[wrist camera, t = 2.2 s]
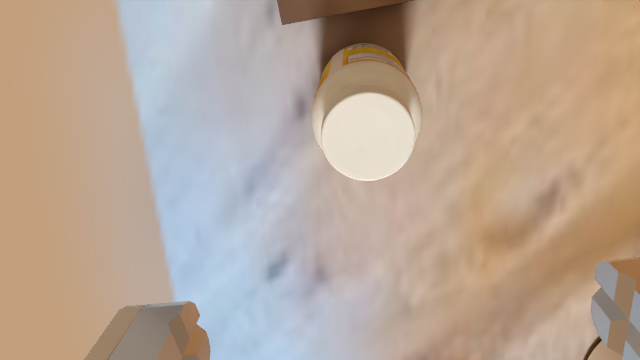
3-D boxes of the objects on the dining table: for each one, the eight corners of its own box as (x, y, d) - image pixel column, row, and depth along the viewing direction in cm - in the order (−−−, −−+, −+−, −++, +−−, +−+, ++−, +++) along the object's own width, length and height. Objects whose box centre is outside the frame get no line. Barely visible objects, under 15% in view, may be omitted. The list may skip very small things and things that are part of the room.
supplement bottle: (376, 23, 25) (391, 45, 16) (421, 98, 26) (457, 154, 18) (302, 75, 26) (280, 121, 17) (349, 142, 28) (350, 214, 19)
